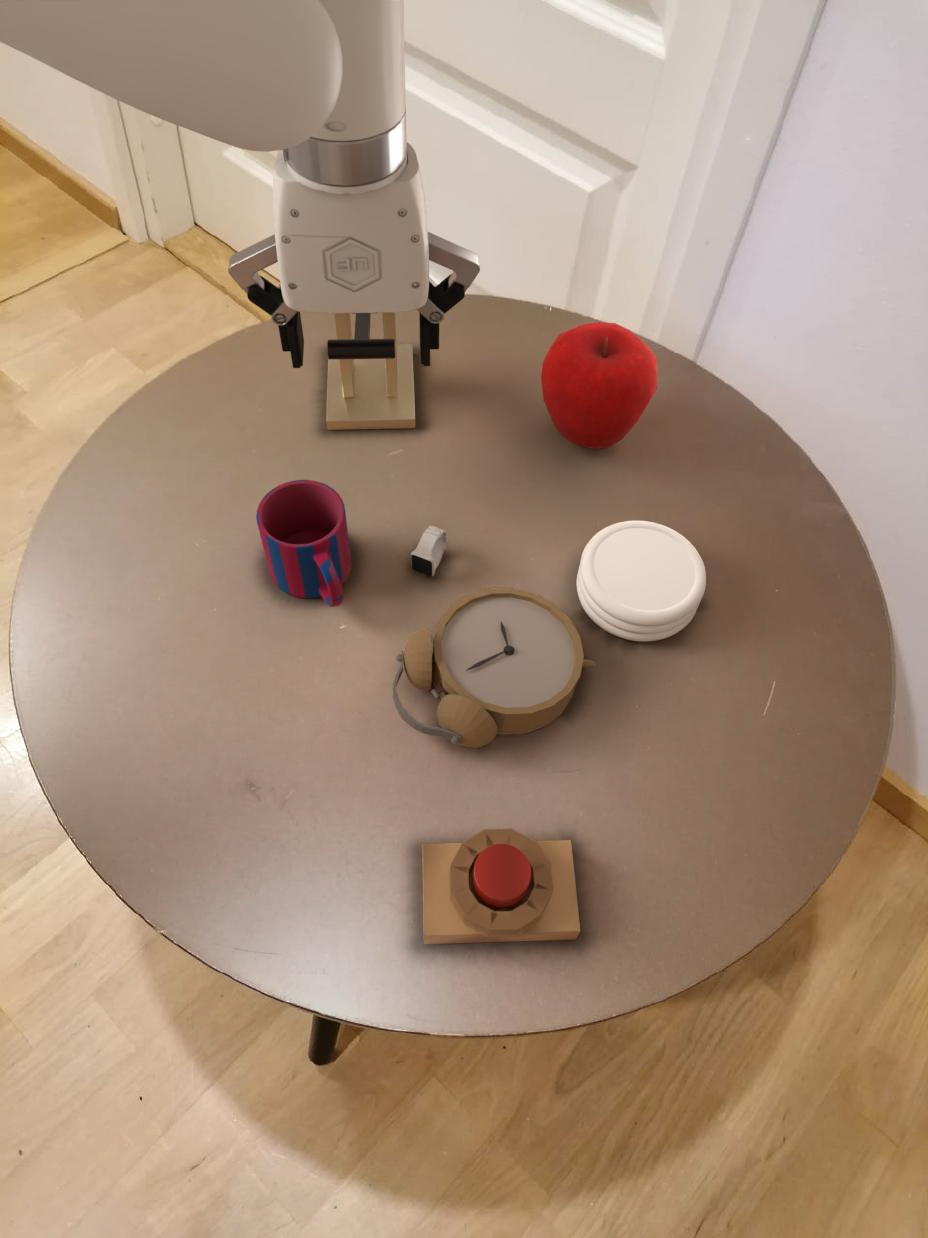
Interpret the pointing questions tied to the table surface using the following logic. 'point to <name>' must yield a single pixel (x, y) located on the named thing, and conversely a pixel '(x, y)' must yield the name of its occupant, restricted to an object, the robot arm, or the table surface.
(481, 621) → the alarm clock
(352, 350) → the lever
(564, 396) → the apple
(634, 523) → the coaster
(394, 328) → the bracket
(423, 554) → the smartwatch
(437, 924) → the button block
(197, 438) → the table surface
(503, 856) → the button
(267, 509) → the mug
